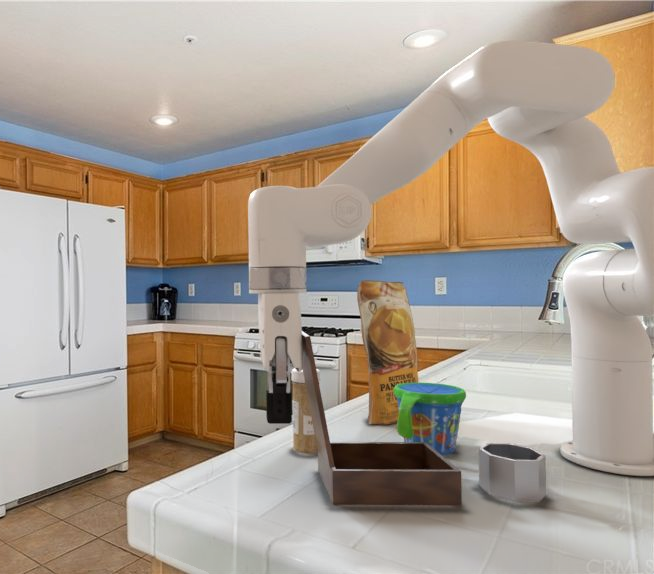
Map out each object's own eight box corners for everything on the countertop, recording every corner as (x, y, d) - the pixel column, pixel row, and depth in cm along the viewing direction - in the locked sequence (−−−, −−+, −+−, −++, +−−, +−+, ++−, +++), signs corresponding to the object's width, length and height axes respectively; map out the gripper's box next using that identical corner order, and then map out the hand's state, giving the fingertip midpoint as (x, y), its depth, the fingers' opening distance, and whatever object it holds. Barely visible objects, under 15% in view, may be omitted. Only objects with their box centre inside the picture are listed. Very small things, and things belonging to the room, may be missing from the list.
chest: (426, 474, 69) (426, 442, 69) (462, 510, 58) (461, 471, 58) (318, 474, 70) (317, 441, 70) (332, 509, 59) (332, 470, 59)
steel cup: (524, 484, 66) (523, 443, 66) (556, 507, 59) (555, 461, 59) (472, 483, 66) (471, 442, 66) (498, 506, 59) (497, 460, 59)
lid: (299, 328, 70) (294, 329, 70) (310, 336, 59) (305, 336, 59) (319, 439, 70) (315, 439, 70) (334, 467, 59) (329, 468, 59)
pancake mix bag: (347, 421, 97) (345, 280, 97) (405, 407, 108) (403, 280, 108) (374, 429, 92) (373, 279, 92) (433, 413, 103) (431, 279, 103)
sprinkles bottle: (317, 458, 76) (317, 371, 76) (289, 455, 78) (288, 370, 78) (323, 449, 81) (322, 367, 81) (295, 446, 82) (295, 366, 82)
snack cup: (429, 434, 88) (428, 377, 88) (488, 449, 79) (487, 387, 80) (371, 450, 80) (370, 387, 80) (429, 470, 71) (429, 399, 71)
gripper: (314, 281, 57) (316, 439, 57) (299, 282, 72) (300, 408, 72) (249, 282, 57) (251, 439, 57) (248, 283, 72) (249, 408, 72)
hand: (279, 421), depth 65 cm, fingers closed
